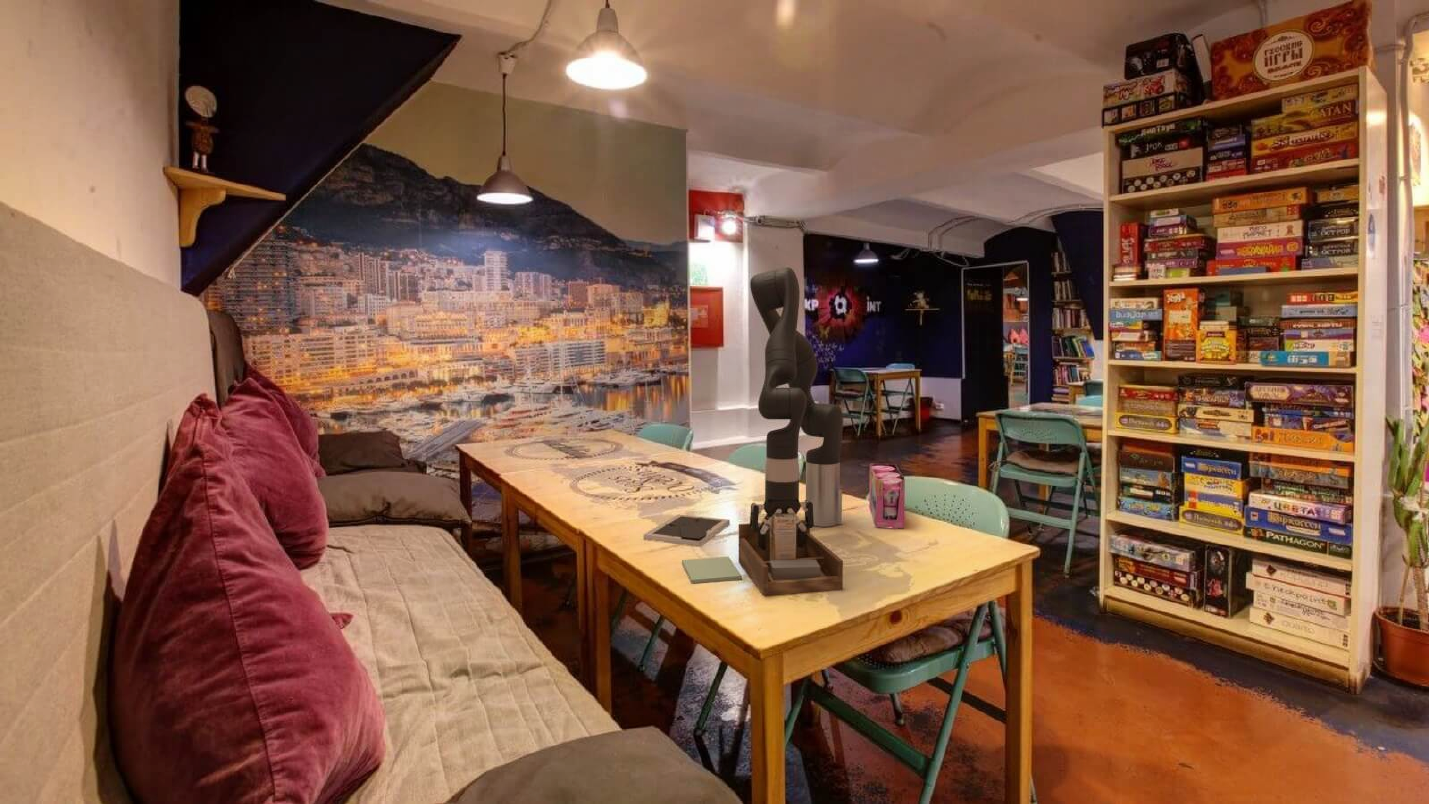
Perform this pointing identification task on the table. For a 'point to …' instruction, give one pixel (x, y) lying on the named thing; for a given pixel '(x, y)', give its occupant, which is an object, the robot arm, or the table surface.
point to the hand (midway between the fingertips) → (781, 548)
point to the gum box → (887, 495)
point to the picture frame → (687, 530)
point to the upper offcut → (794, 569)
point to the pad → (711, 569)
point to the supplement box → (783, 537)
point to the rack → (759, 559)
